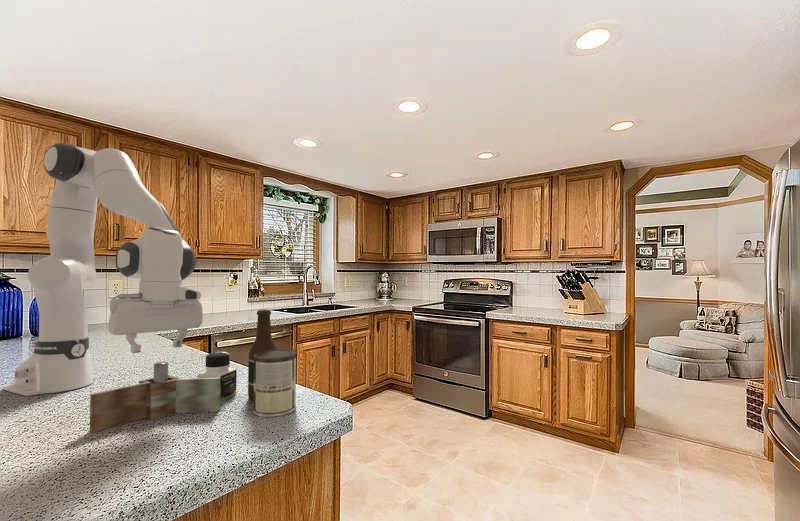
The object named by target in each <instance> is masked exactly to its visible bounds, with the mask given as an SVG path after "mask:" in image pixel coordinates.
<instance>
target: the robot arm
mask: <svg viewBox="0 0 800 521" xmlns="http://www.w3.org/2000/svg"><path fill="white" fill-rule="evenodd" d="M43 166H44V170H45V172H46V173H47V174H48V176H49V177H51V178H53V179H55V180H56V182H55V185H54V188H53V190H52V194H51V198H50V202H49V208H48V210H49V211H48V216H47V224H46V231H45V233H46V238H47V240H48V244H49V253H50V254H49V255H50V256H46V257H43V258H41V259H39V260H36V261H35V262H34V263H33V264H32V265H31V266H30V267H29V269H28V272H27V278H28V281H29V283H30V284H31V286H32V288H33V292H34V296H35V300H36V304H37V308H38V309H37V310H38V340H37V341H36V342H32V346H31V347H32V348H34V349H33V352H32V353H33V354H32V355H30V357H28V358H27V359H26V360H24V361H23V362H22V363H21V364H19V365H18V366H17V367H16V369H15V372H14V379H13V380H14V382H10V383H8V384H5V385H3V386H2V390H3V391H7V392H9V393H14V394H17V395H20V396H24V397H30V396H36V395H43V394H53V393H61V392H67V391H72V390H77V389H81V388H84V387H87V386H89V385H91V384H93V383H94V380H96V375H95V374H93V366H92V365H93V363H92V356H91V353H90V352H89V351H88V349H89V348H90V337H89V336H88V321H89V320H88V317H89V315H88V314H89V310H88V309H87V307H86V304H85V298H84V293H83V290H85V289H87V288H88V287H90V286H91V285H92V283H93V282H94V281H95V280H96V277H97V276H96V275H97V271H96V267H95V262H96V260H95V246H94V238H95V230H96V229H95V228H96V220H97V213H98V212H97V211H98V200H99V203H101V205H102V206H103V207H105V209H107V210H108V211H110V212H112V213H114V214H117V215H119V216H123V217H126V218H128V219H131V220H135V221H136V222H140V223H142V224H144V225H145V226H147V227H146V228H145V229H144V230H143V233H142V235H141V236H139V237H138V238H137V239H134V240H132V241H131V240H130V241H129V240H128V241H126V242H124V243H123V244H122V245H120V246H119V248H118V249H117V250H116V253H115V267H116V269H117V270H118V272H119V273H120V274H121V275H123V276H124V277H126V278H130V279H139V287H138V292H137V293H119V294H118V295H115V296H114V297H112V298H111V299H110V303H109V310H110V315H109V320H108V326H107V330H108V332H109V333H110V334H111V335H114V336H124V335H125V339H126V341H127V342H128V344H129V345H130V353H132V354H137V353H141V352H142V344H138V343H137V342H136V341H135V339H137V334H144V333H145V334H146V333H157V332H167V331H176V330H177V333H178V335H177V338H176V339H173V340H172V347H173V348H176V349H177V348H182V347H183V340H184V339H185V337H186V336H187V334H188V330H189V329H196V328H197V329H198V328H200V327H201V326H202V324H203V306H202V305H203V304H202V303H201V301H199V300H200V299H201V298H202V292H200V291H198V290H195V289H192V288H189V287H184V286H182V281H184V280H186V278H188V277H190V275H191V274H193V272H194V270H195V269H196V266H197V257H196V255H195V252H194V251H193V249H192V248H191V247H190V245H189V244H188V243H187V242H186V241H185V240H184V238H183V236H182V234H181V232H179V230H178V228H177V225H175V222H174V221H173V219H172V218H171V216H170V214H169V213H168V211H167V209H166V208H165V207H164V205H163V203H161V202H160V201H159V200H158V199H156V198H155V197H154V196H153V195H152V193H150V192H149V190H148V189H147V188H146V187H145V185H144V184H143V182H142V179H141V177H140V175H139V172H138V170H137V169H136V167H135V165H134V163H133V161H132V160H131V159H130V157H129V155H128V154H126V153H125V152H124V151H122V150H120V149H117V148H103V149H99V150H93V149H88V148H85V147H80V146H75V145H74V144H71V143H70V144H69V143H61V142H59V143H54V144H52V145H51V146H50V147H48V149H47V150H46V153H45V155H44V159H43Z"/></svg>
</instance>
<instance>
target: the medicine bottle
mask: <svg viewBox="0 0 800 521" xmlns="http://www.w3.org/2000/svg"><path fill="white" fill-rule="evenodd" d="M230 363H231V355H230V353H228V352H226V351H214V352H210V353H208V354H206V356H205V370H204V371H201V372H198V374H197V378H221V397H220V402H222V401H224V400H226V399H228V398H230V397H232V396H235V395H236V394H237V368H234V367H233V368H232V367H230V366H231V364H230Z"/></svg>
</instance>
